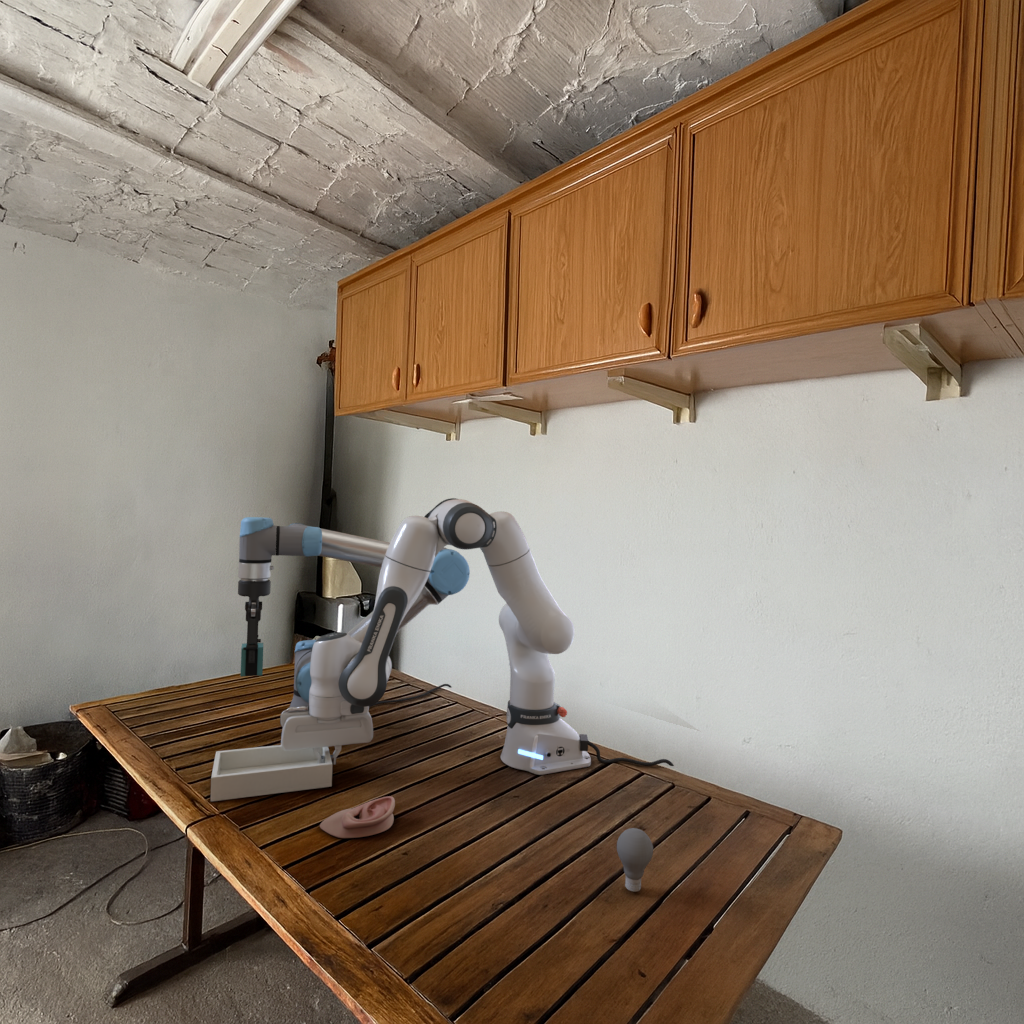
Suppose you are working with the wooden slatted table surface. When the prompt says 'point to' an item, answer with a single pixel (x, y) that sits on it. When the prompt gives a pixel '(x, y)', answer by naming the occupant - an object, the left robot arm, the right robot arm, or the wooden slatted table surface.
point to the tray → (268, 771)
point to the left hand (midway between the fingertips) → (251, 672)
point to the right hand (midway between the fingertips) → (326, 764)
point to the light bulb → (634, 856)
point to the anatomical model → (361, 819)
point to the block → (259, 663)
